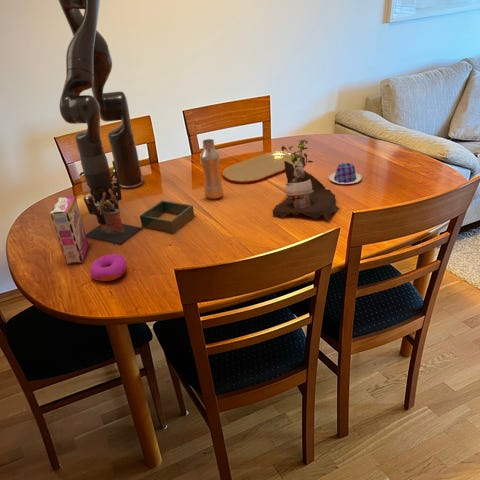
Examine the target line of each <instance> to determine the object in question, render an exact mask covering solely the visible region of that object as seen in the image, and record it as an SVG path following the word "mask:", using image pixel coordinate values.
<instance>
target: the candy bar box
mask: <svg viewBox="0 0 480 480" xmlns="http://www.w3.org/2000/svg"><path fill="white" fill-rule="evenodd" d="M49 214H50V217H51V220H52V223H53V226H54V229H55V232H56V236H57V238H58V241H59V245H60V247H61V249H62V252H63V256H64V258H65V262H66V264H67V265H69V264H70V265H71V264H82V263H83V262H84V260H85V257H86V253H87V251H88V248H89V244H90V243H89V240H88V237H86V234H87V233H86V231H85V226H84V224H83V220H82V216H81V213H80V210H79V206H78V203H77V199H76V196H73V195H72V196H63V197H59V198H58V199H57V200H56V203H55V204H54V206H53V208H52V209H51V211H50V213H49Z"/></svg>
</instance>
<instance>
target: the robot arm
mask: <svg viewBox="0 0 480 480" xmlns="http://www.w3.org/2000/svg"><path fill="white" fill-rule="evenodd" d="M100 1H101V0H58V3H59V5H60V8H61V10H62V12H63V15H64V16H65V19H66V21H67V24H68V26H69V28H70V31H71V33H72V38H71V40H70V42H69V44H68V46H67V49H66V54H65V55H66V56H65V66H66V67H65V75H66V77H65V81H64V83H63V84H64V85H63V88H62V92H61V95H60V99H59V112H60V116H61V118H62V119H63V121H64V122H65V123H67V124H71V125H81V124H86V126H87V128H86V129H85V130H81V131H79V132H78V133H76V135H75V137H74V139H75V142H76V143H75V144H76V147H77V150H78V155H79V159H80V164H81V167H82V172H80V173H79V175H78V177H82V176H83V175H84V178H85V183H86V186H87V187H89V190H90V194H88V195H87V196H83V201H84V204H85V206H86V208H87V211H88V213H89V215H94V216H96V220H97V223H98V224H99V225H105V224H106V222H105V218H104V214H102V213H103V207H104V203H106V202H109V203H110V204H114V206H115V209H119V211H120V207H119V202H120V201H122V199H123V197H122V192H121V191H122V190H121V188H122V189H135V188H137V187H140V186H142V185H143V184H144V174H142V170H141V169H142V168H141V164H140V159H139V154H138V150H137V145H136V140H135V136H134V131H133V127H132V122H131V116H130V108H129V104H128V99H127V96H126V94H125V92H124V91H122V90H121V91H120V90H119V91H111V92H104V89H105V86H106V83H107V81H108V79H109V77H110V75H111V73H112V68H113V60H112V56H111V52H110V48H109V45H108V42H107V41H106V38H105V37H103V35H102V34H101V33H100V32H99V30H97V28H98V21H99V13H100V5H101V4H100V3H101V2H100ZM81 10H84V12H83V13H82V12H81ZM90 89H91V93H92V95H91V94H82V93H83V92H85V91H88V90H90ZM81 94H82V95H81ZM101 120H102V122H105V123H108V122H109V123H110V122H116V121H117V122H119V121H121V123H120V124H119V125H118V126H116V127H115V128H112V129H111V130H110V131H109V132H108V133H107V139H108V142H109V147H110V150H111V155H112V158H113V160H112V161H111V164H112V167H113V172H112V174H111V169H110V166H109V162H108V159H107V158H108V157H107V156H106V152H105V149H104V145H103V142H102V136H101ZM113 179H116V180H113ZM97 202H101V203H100V204H98V203H97ZM98 206H99V207H98ZM98 208H99V210H98ZM120 212H121V211H120Z"/></svg>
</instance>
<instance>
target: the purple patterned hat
mask: <svg viewBox="0 0 480 480" xmlns="http://www.w3.org/2000/svg"><path fill="white" fill-rule="evenodd" d="M362 178H363V177H362V175H361V174H359V173H358V172H356V167H355V165H354V164H353V163H349V162H342V163H339V164H338V165H337V167H336V171H335V172H333V173H330V174H329V176H328V180H329V181H331V182H333V183H335V184H339V185H349V184H355V183H358V182H360V181H361V180H362Z"/></svg>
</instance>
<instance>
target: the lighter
mask: <svg viewBox="0 0 480 480" xmlns="http://www.w3.org/2000/svg"><path fill="white" fill-rule="evenodd" d="M97 203H98V204H100V203H101V202H98V201H97ZM98 210H99V206H98ZM119 210H120V208H119V209H115V206H114V204H112V203H110V202H109V201H106V202H105V203H104V207H103V213H102V214H104V218H105V222H106V224H105V225H101V227H102V229H101V230H102V232H103V233H108V234H123V233H124V232H125V231H124V228H123V225H122V224H123V222H122V217H121V214H120V213H121V211H119Z"/></svg>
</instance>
